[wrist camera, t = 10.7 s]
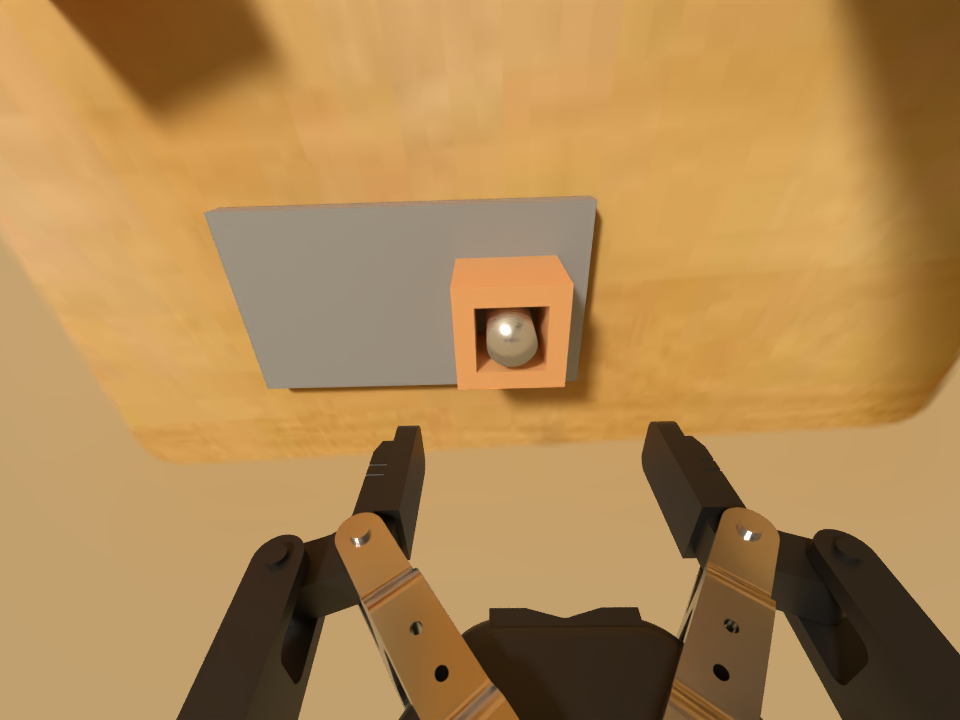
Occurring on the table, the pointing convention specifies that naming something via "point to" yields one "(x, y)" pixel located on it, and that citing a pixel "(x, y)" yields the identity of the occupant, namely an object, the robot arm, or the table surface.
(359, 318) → the base plate
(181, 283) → the table surface
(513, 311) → the steel post
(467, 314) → the collar
